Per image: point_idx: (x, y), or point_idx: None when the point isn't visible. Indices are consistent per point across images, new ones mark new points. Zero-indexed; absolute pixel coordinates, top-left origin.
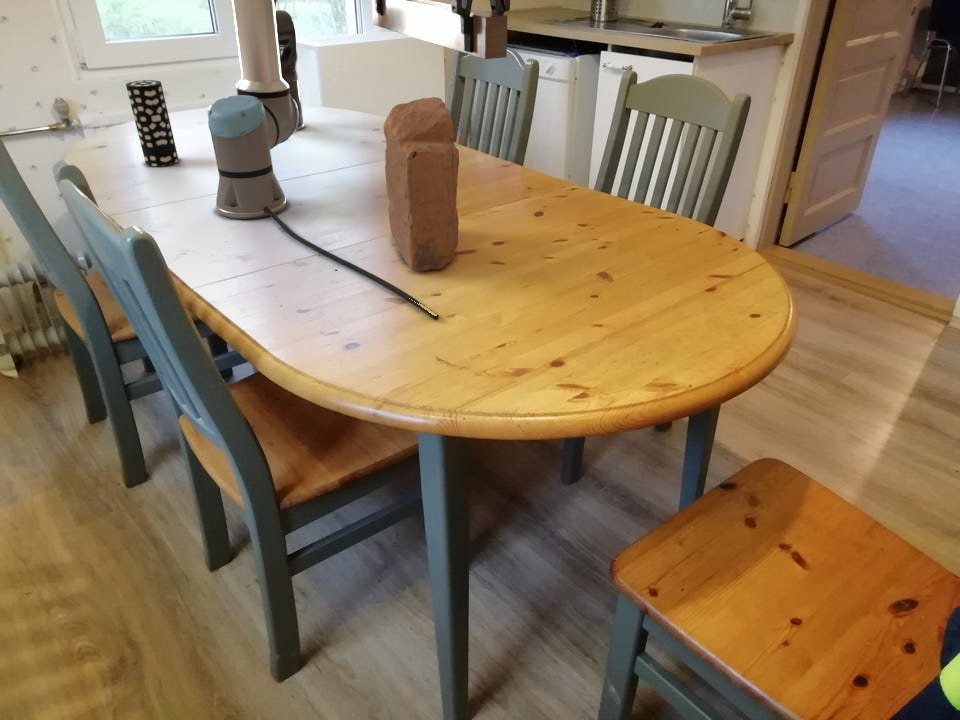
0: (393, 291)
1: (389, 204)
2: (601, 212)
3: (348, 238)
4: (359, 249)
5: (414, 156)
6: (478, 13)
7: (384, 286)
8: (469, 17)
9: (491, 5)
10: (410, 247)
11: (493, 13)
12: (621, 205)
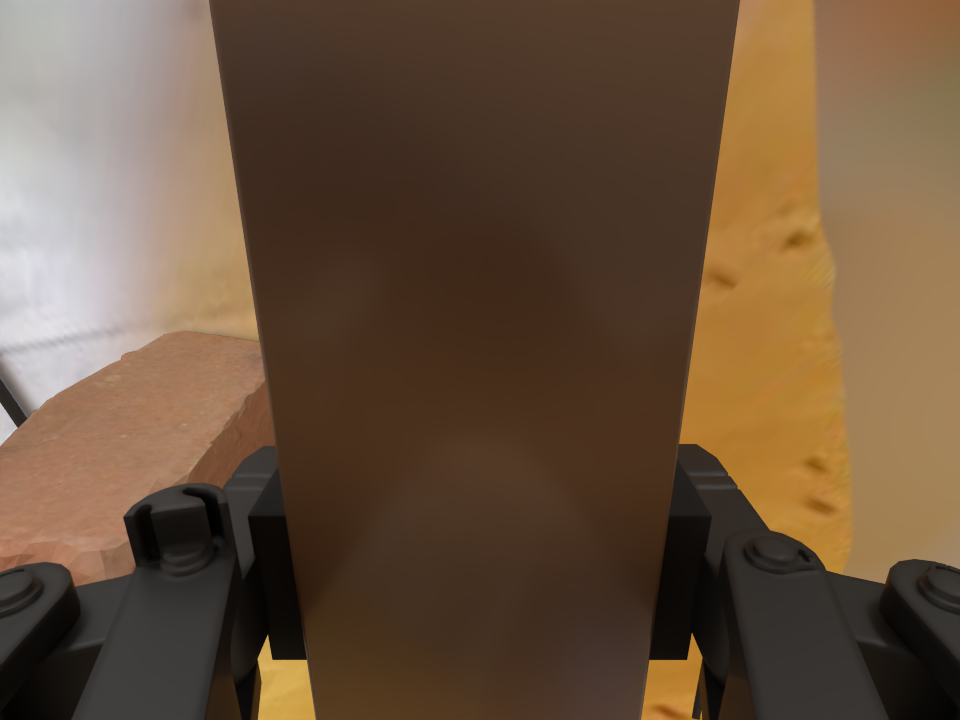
0: None
1: (121, 359)
2: (722, 420)
3: (57, 297)
4: (78, 369)
5: (132, 426)
6: (433, 627)
7: None
8: (275, 639)
9: (734, 646)
10: None
11: (620, 696)
12: (803, 403)
